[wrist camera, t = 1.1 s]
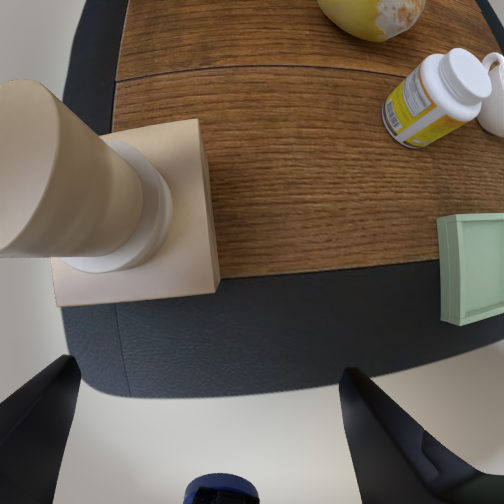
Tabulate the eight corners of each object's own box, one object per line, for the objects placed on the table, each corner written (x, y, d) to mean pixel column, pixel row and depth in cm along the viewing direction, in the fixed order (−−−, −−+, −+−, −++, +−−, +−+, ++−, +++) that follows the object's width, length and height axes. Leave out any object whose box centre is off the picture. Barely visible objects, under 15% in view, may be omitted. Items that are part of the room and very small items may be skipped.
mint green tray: (501, 303, 25) (520, 306, 22) (440, 320, 25) (459, 326, 22) (497, 215, 25) (517, 212, 22) (435, 217, 25) (455, 214, 22)
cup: (473, 145, 25) (516, 126, 18) (447, 63, 25) (480, 34, 18) (513, 151, 26) (552, 137, 19) (489, 76, 26) (522, 54, 19)
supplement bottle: (437, 125, 25) (506, 84, 15) (414, 162, 25) (490, 124, 14) (396, 84, 25) (453, 27, 14) (368, 118, 24) (429, 59, 14)
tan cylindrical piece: (152, 286, 15) (40, 332, 5) (58, 249, 15) (-87, 244, 5) (189, 174, 15) (133, 62, 5) (92, 147, 15) (-20, 55, 5)
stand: (220, 280, 23) (215, 292, 15) (107, 292, 23) (56, 307, 15) (207, 160, 23) (197, 117, 15) (97, 178, 23) (48, 149, 15)
